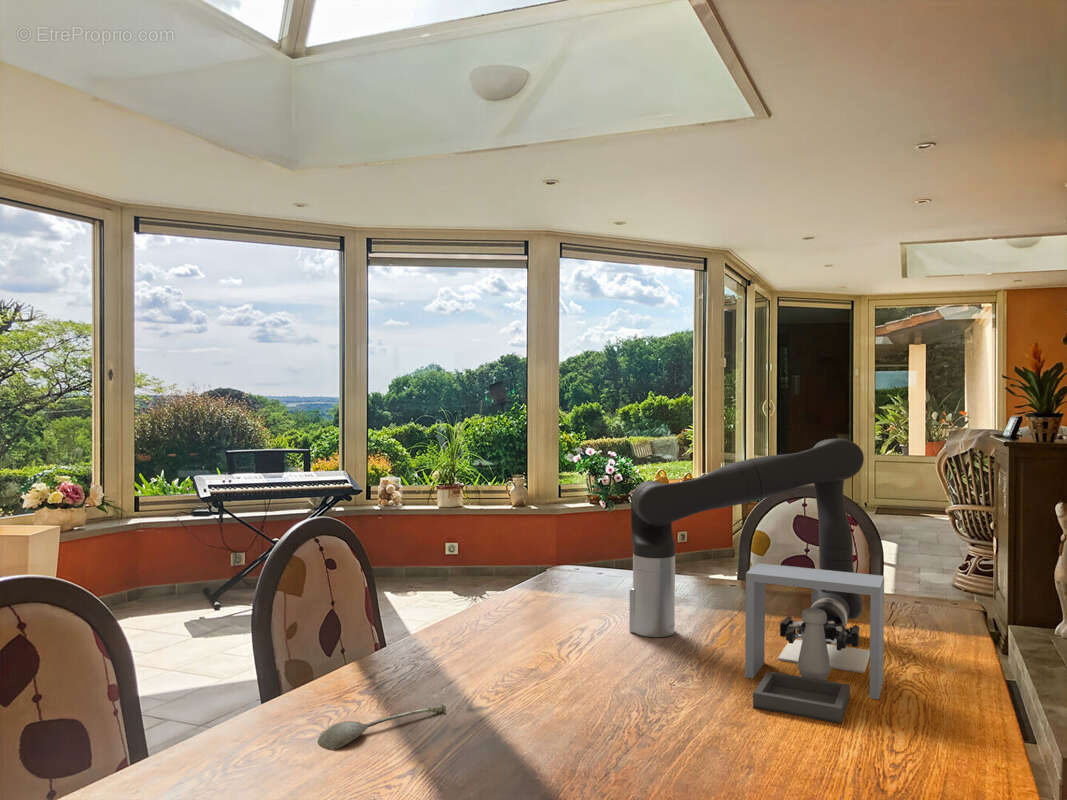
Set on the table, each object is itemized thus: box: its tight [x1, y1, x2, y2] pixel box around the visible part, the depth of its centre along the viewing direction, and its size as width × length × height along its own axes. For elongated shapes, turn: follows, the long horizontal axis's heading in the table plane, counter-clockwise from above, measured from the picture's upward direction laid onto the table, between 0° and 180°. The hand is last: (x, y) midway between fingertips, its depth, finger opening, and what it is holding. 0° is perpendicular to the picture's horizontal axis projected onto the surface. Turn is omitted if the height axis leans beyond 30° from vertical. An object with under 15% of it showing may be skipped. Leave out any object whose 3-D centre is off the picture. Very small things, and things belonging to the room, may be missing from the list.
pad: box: [777, 639, 870, 674], centre depth 162 cm, size 16×14×1 cm
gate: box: [744, 562, 885, 700], centre depth 149 cm, size 23×10×20 cm, turn 62°
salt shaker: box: [797, 607, 832, 681], centre depth 149 cm, size 6×6×13 cm
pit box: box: [752, 671, 851, 725], centre depth 138 cm, size 14×12×2 cm
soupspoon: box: [316, 703, 447, 751], centre depth 127 cm, size 22×3×7 cm
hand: (814, 641), depth 149 cm, fingers open, 8 cm apart
